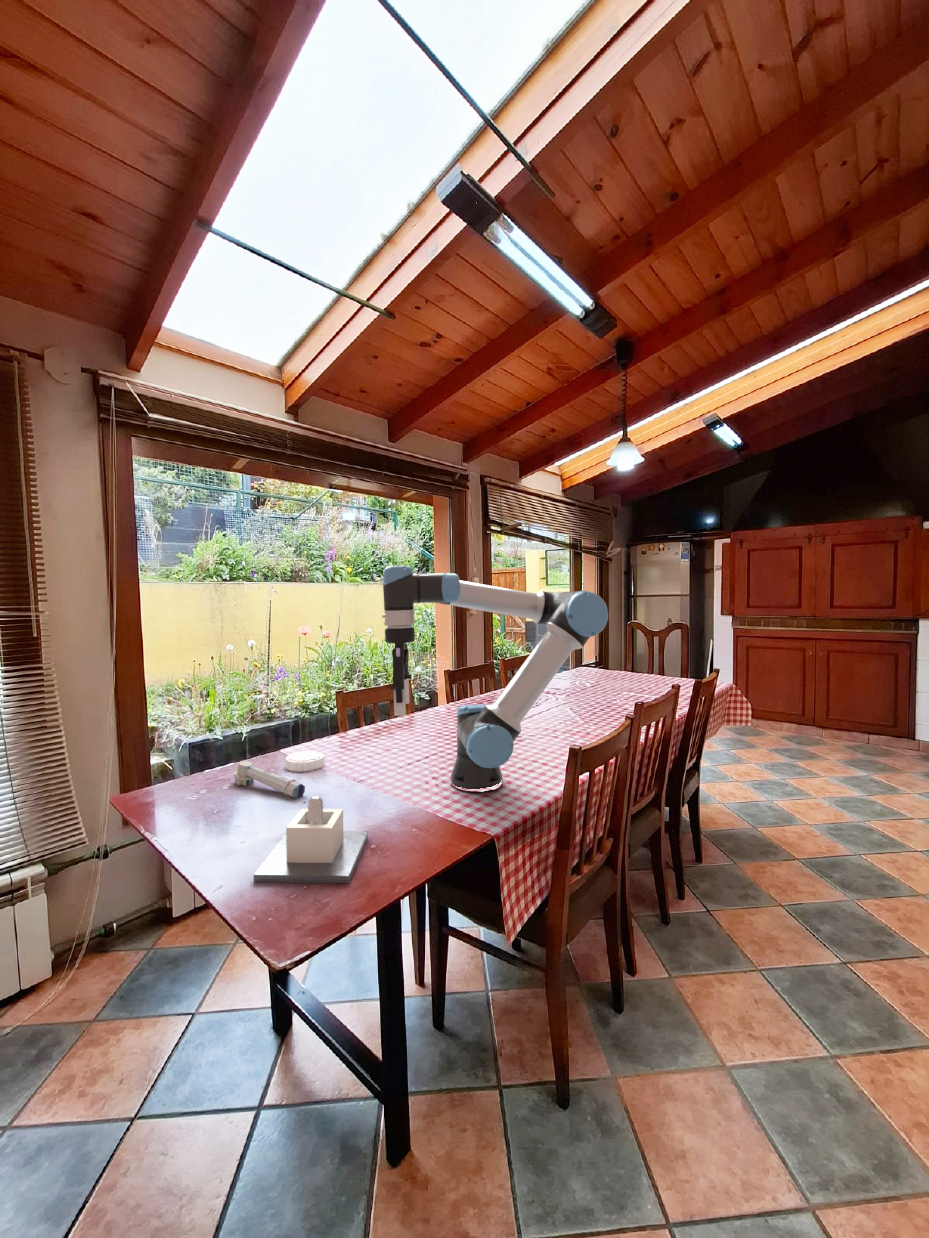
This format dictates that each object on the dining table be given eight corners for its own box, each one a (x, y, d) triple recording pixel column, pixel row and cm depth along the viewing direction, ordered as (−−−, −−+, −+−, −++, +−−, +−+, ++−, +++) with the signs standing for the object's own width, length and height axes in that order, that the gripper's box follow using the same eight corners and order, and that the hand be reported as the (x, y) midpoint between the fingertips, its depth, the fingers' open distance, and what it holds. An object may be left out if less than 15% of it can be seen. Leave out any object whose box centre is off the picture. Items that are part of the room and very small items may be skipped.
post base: (367, 837, 112) (367, 780, 112) (348, 883, 94) (348, 815, 94) (288, 836, 112) (287, 780, 112) (253, 882, 94) (253, 814, 94)
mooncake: (332, 764, 162) (332, 753, 162) (302, 775, 152) (302, 763, 152) (307, 757, 169) (307, 747, 168) (277, 767, 159) (277, 756, 158)
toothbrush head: (293, 787, 132) (231, 759, 143) (290, 811, 133) (229, 781, 144) (307, 781, 136) (246, 754, 148) (305, 804, 137) (244, 776, 149)
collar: (343, 840, 108) (343, 808, 107) (331, 862, 99) (331, 828, 98) (301, 840, 108) (301, 808, 107) (286, 862, 99) (286, 827, 98)
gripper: (390, 624, 139) (392, 699, 140) (378, 630, 115) (381, 721, 116) (416, 623, 140) (419, 698, 141) (411, 629, 115) (414, 720, 116)
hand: (402, 709), depth 128 cm, fingers open, 13 cm apart
